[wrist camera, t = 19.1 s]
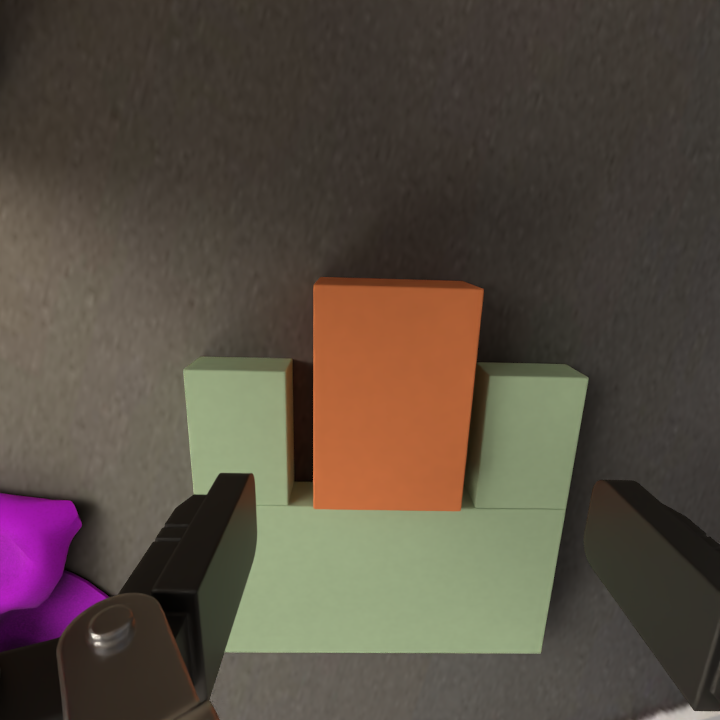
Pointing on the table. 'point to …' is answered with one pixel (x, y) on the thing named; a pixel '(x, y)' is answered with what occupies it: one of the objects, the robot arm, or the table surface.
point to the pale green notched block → (395, 520)
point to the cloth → (38, 571)
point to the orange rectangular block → (392, 392)
